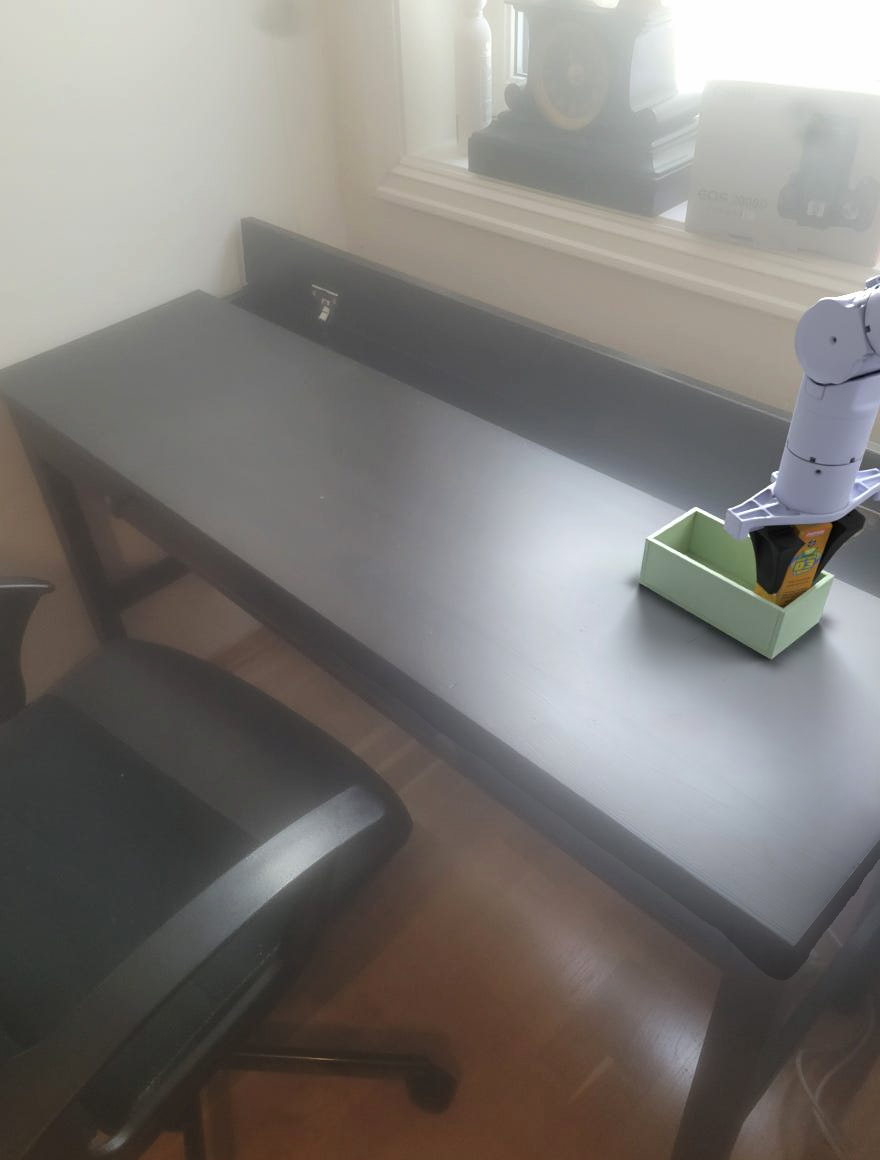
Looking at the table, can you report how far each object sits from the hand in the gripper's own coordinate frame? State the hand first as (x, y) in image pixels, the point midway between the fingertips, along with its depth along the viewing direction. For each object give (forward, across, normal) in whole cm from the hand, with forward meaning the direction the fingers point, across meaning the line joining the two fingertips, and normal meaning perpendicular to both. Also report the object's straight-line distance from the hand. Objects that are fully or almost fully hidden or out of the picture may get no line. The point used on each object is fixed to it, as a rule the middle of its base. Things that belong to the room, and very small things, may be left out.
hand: (785, 581), depth 79 cm
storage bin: (+5, +2, -5) cm, 7 cm away
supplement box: (+3, 0, 0) cm, 3 cm away
